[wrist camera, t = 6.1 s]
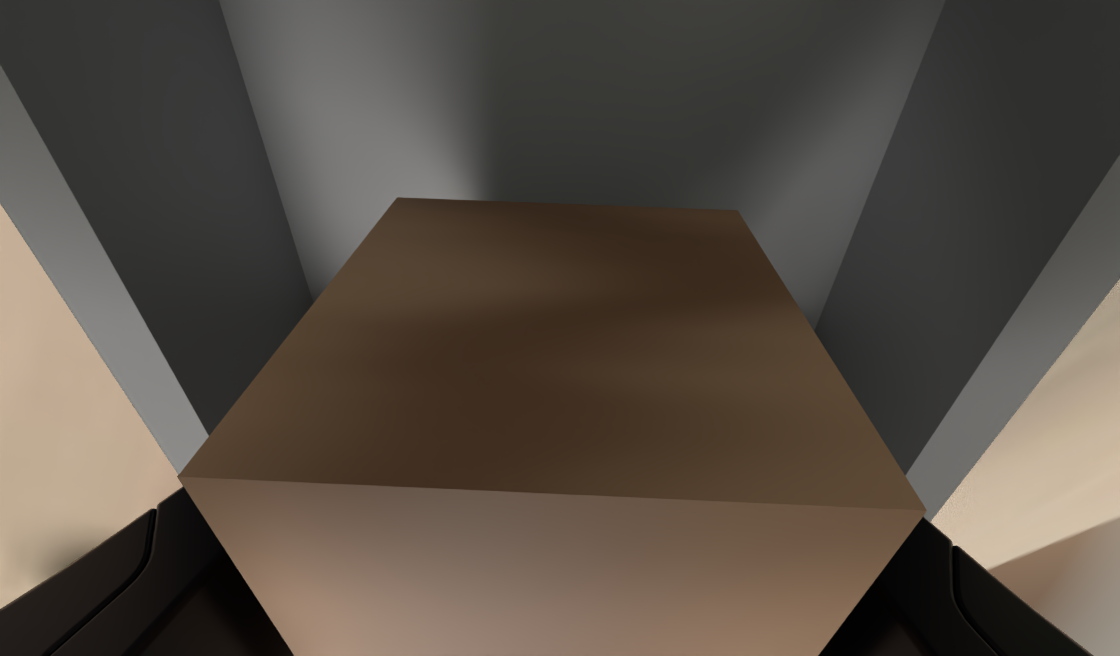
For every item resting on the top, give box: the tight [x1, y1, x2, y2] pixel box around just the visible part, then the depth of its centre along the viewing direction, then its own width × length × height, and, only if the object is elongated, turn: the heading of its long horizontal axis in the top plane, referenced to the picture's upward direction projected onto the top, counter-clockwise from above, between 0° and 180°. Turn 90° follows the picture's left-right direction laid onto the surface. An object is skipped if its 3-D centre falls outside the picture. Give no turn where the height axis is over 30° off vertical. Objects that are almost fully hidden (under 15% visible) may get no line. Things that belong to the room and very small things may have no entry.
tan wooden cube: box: [177, 197, 927, 656], centre depth 7 cm, size 5×5×5 cm
